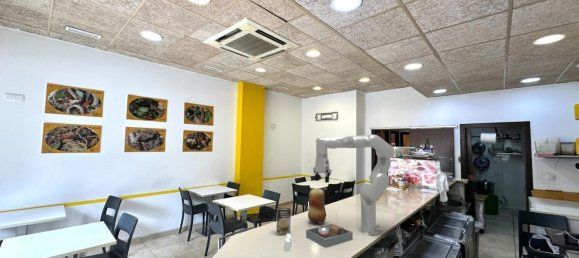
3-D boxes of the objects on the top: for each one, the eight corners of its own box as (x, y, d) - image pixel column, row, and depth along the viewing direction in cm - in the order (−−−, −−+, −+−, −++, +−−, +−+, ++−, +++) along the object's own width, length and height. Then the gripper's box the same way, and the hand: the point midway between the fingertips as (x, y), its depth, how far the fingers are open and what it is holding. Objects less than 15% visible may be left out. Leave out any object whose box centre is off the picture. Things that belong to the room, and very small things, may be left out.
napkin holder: (286, 240, 148) (286, 231, 148) (302, 245, 142) (302, 235, 142) (271, 249, 135) (271, 239, 136) (288, 254, 129) (288, 243, 129)
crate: (332, 231, 163) (332, 223, 163) (352, 240, 148) (352, 232, 148) (306, 238, 151) (306, 229, 151) (325, 248, 136) (325, 239, 136)
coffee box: (276, 235, 155) (276, 209, 156) (276, 231, 161) (276, 207, 162) (290, 235, 155) (290, 209, 156) (290, 231, 161) (290, 207, 162)
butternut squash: (304, 224, 176) (305, 189, 178) (311, 219, 188) (312, 186, 190) (322, 227, 170) (322, 191, 171) (328, 222, 182) (329, 188, 183)
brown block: (334, 233, 157) (334, 224, 158) (343, 237, 151) (343, 227, 151) (327, 235, 154) (327, 225, 154) (336, 239, 147) (336, 229, 148)
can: (324, 236, 152) (323, 225, 152) (331, 240, 146) (331, 228, 147) (316, 239, 148) (316, 227, 148) (323, 242, 143) (323, 230, 143)
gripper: (335, 156, 159) (335, 182, 158) (317, 155, 174) (317, 179, 173) (326, 156, 155) (327, 183, 154) (309, 155, 169) (309, 180, 168)
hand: (322, 181), depth 163 cm, fingers open, 9 cm apart
